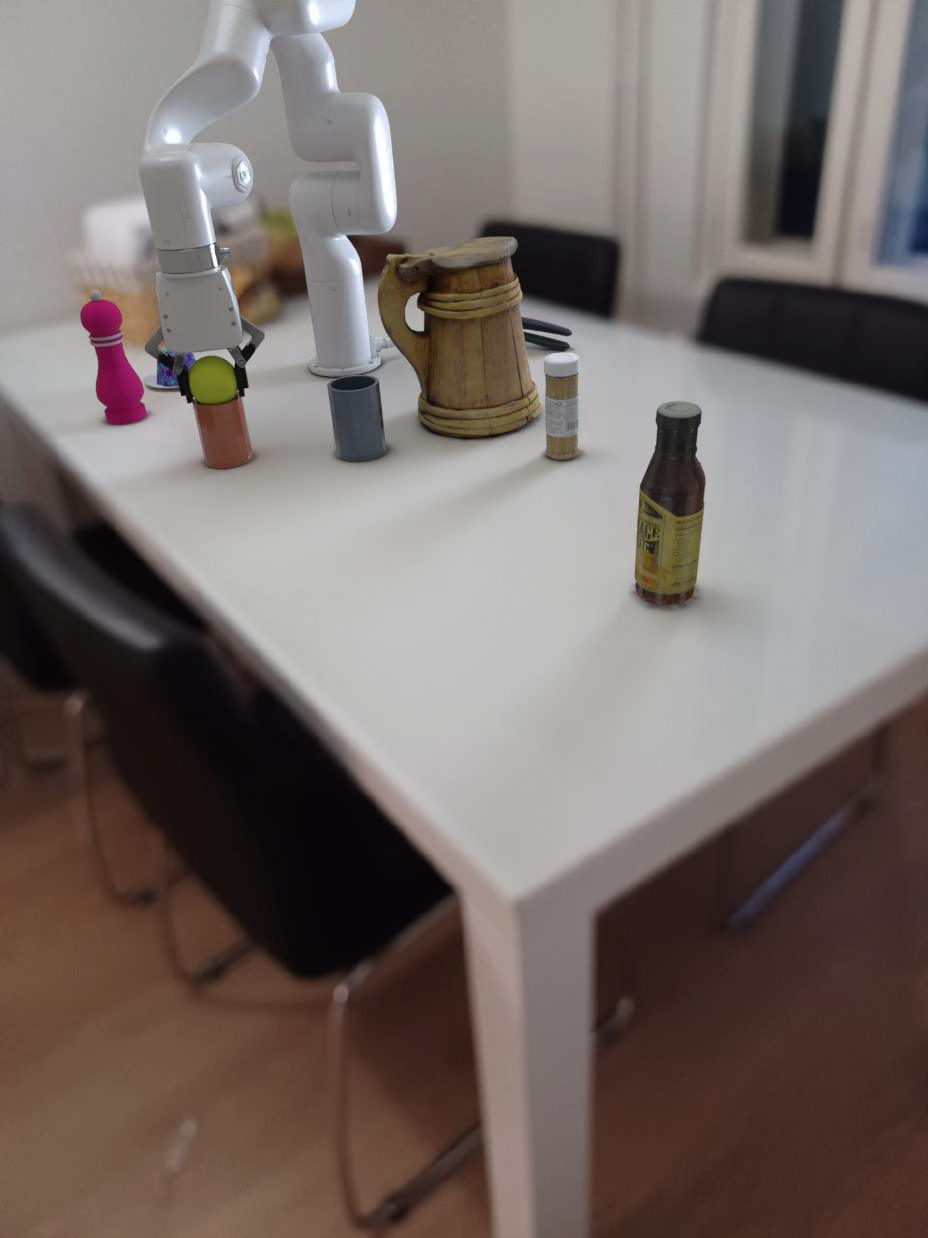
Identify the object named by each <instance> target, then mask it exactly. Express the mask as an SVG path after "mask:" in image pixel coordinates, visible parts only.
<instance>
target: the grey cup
mask: <svg viewBox="0 0 928 1238" xmlns="http://www.w3.org/2000/svg"><path fill="white" fill-rule="evenodd" d="M326 386H327V395H328V403H329V410H330V416H331V422H332V423H331V424H332V431H333V438H334V446H335V453H336V456H337V457H338V458H339V459H341V460H342V461H346V462H353V463H355V462H367V461H371V460H375V459H378V458H380V457H382V456H383V455H384V454H385V453H386V452H387V441H386V434H385V433H386V432H385V423H384V415H383V414H384V413H383V406H382V405H383V404H382V395H381V386H380V380H379V378H377V377H375V375H368V374H357V375H350V376H340V377H336V378H334V379H332V380H330V381H329V382H328V383H327V384H326Z"/></svg>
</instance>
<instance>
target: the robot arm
mask: <svg viewBox="0 0 928 1238" xmlns="http://www.w3.org/2000/svg"><path fill="white" fill-rule="evenodd" d="M356 1H357V0H209V3H208V7H207V8H208V9H207V11H206V15H205V21H204V25H203V29H202V34H201V37H200V41H199V46H198V51H197V55H196V59H195V61H194V63H193V64H192V65H191V66H189V68H188V69H187V70H186V71H184V72H183V73H182V74H181V75H180V76H179V77H178V78H177V79H176V80H175V81H174V83H173V84H172V85H171V86H170V87H169V89H167V91H166V92H165V93H164V94H163V95H162V96H161V98H160V99H159V100H158V101H157V102H156V104H155V106H154V108H153V109H152V111H151V113H150V115H149V118H148V120H147V123H146V128H145V131H144V135H143V139H142V145H141V149H140V155H139V162H138V173H139V179H140V184H141V189H142V192H143V196H144V202H145V207H146V210H147V211H146V212H147V216H148V220H149V225H150V230H151V234H152V239H153V244H154V248H155V253H156V257H157V261H158V267H159V271H157V272H156V273H155V289H156V299H157V306H158V313H159V320H160V324H159V326H158V327H157V328H156V330H155V331H154V332H153V334H152V335H151V337H150V338H149V339H148V340H147V342H146V343H145V345H144V352H146V354H148V355H150V357H153V359H155V360H156V361H157V360H158V361H159V362H160V363H161V364H163V365H164V366H166V367H167V368H169V369H170V370H171V371H173V373H174V374H176V376H177V380H178V385H179V388H178V389H179V393H180V397H185V399H186V403H187V404H192V402H193V399H194V397H193V396H192V394H191V391H190V387H189V382H188V369H187V370H186V368H185V365H184V361H185V356H186V353H193V354H195V353H203V352H204V353H205V352H211V351H219V350H220V351H221V350H227V352H228V353H229V354H230V356H231V358H232V359H233V361H234V364H233V365H234V366H233V367H234V370H235V375H236V381H237V386H238V391H237V392H239V396H241V397H242V398H245V397H246V392H245V389H249V388H250V385H249V380H248V379H249V378H248V375H247V369H246V365H247V364H248V362H249V361H250V359H252V356H253V355H254V354H255V353H256V351H257V349H258V348H259V347H260V345H261V344H262V342H263V341H264V339H265V337H266V335H265V331H264V330H263V329H261V328H260V327H258V326H256V324H254V323H253V322H251V321H250V320H248V319H247V318H246V317H244V316H243V315H242V314H241V312H240V308H239V303H238V299H237V296H236V295H237V294H236V290H235V288H234V286H235V285H234V283H233V280H232V276H231V274H230V272H229V269H228V267H227V265H225V264H221V262H222V261H223V260H225V259H227V258H231V252H230V247H229V245H228V246H223V245H220V244H219V243H217V239H216V233H215V229H214V223H213V218H212V211H211V210H212V209H215V208H216V209H217V208H232V207H235V206H237V205H239V204H242V202H244V201H245V200H246V199H247V198H248V196H249V195H250V193H251V191H252V188H253V183H254V171H253V166H252V164H251V162H250V159H249V158H248V156H247V155H246V154H245V152H244V151H243V150H242V149H240V148H239V147H237V146H235V145H234V144H231V143H227V142H192V140H193V139H194V138H195V137H196V136H197V134H198V133H200V132H201V131H202V130H204V129H205V128H206V127H207V126H209V125H211V124H213V123H215V122H216V121H219V120H220V119H222V118H225V117H226V116H228V115H230V114H232V113H234V112H235V111H238V110H239V109H241V108H243V107H244V106H247V104H249V103H250V102H252V101H254V99H255V98H256V97H257V96H258V95H259V92H260V90H261V88H262V87H261V86H262V82H263V77H264V73H265V68H266V62H267V58H268V54H269V49H271V52H272V54H273V56H274V58H275V60H276V64H277V68H278V73H279V78H280V85H281V91H282V98H283V103H284V104H283V105H284V112H285V113H284V114H285V118H286V126H287V132H288V138H289V142H290V146H291V149H292V151H293V153H294V155H295V156H296V157H297V158H298V159H300V160H302V161H303V162H304V161H305V162H309V163H342V162H344V163H345V162H346V163H349V162H355V164H356V165H357V168H358V170H318V171H317V170H316V171H310V172H306V173H303V174H301V175H299V176H298V177H296V178H295V179H294V180H293V181H292V182H291V185H290V187H289V191H288V206H289V211H290V214H291V218H292V221H293V225H294V227H295V231H296V234H297V237H298V241H299V245H300V250H301V255H302V256H301V257H302V262H303V267H304V275H305V280H306V282H305V283H306V289H307V296H308V297H307V298H308V303H309V311H310V317H311V325H312V331H313V338H314V344H315V345H314V346H315V352H316V356H315V357H313V358H312V359H311V360H310V361H309V363H308V367H309V371H310V372H311V373H313V374H314V375H318V376H322V377H334V378H335V377H336V378H340V377H344V376H350V375H362V374H364V373H368V372H371V371H373V370H376V369H377V368H378V367H379V366H380V365H381V356H380V354H379V352H381V350H383V349H390V348H394V347H396V346H395V345H394V343H393V342H392V341H391V339H390V338H389V336H384V337H382V336H381V335H377V336H371V335H370V333H369V332H370V331H369V323H368V315H367V314H368V313H367V304H366V296H365V287H364V286H365V285H364V279H363V278H364V277H363V270H362V269H363V268H362V262H361V259H360V256H359V254H358V252H357V249H356V248H355V247H354V245H353V243H352V242H351V241H350V239H349V238H348V237H347V236H369V235H370V236H371V235H372V236H376V235H383V234H386V233H388V232H389V231H391V230H392V228H393V227H394V225H395V223H396V219H397V214H398V208H397V207H398V201H397V200H398V199H397V187H396V177H395V165H394V157H393V156H394V155H393V146H392V145H393V144H392V136H391V135H392V133H391V127H390V121H389V117H388V113H387V110H386V108H385V106H384V104H383V103H382V101H381V100H380V99H379V98H378V97H377V96H376V95H374V94H372V93H370V92H364V91H354V92H353V91H351V92H350V91H349V92H341V91H340V89H339V86H338V79H337V71H336V65H335V64H336V63H335V59H334V53H333V52H332V50H331V48H330V45H329V43H327V41H326V39H325V38H324V36H323V35H322V34H321V33H324V32H327V31H330V30H335V29H339V28H341V27H345V25H346V24H347V23H348V22H349V21H350V20H351V19H352V16H353V14H354V11H355V8H356ZM244 332H245V333H247V334H248V335H249V336H250V339H249V341H248V342H247V343H246V344H245V346H243V348H241V347H240V345H241V344H242V343H243V341H244ZM162 341H164V344H165V349H168V351H170V352H172V353H176V355H175V358H174V357H172V356H171V355H169V354H168V353H166V352H164V351H163V349H162V348H161V347H160V346H159V345H160V344H161V343H162Z"/></svg>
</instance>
